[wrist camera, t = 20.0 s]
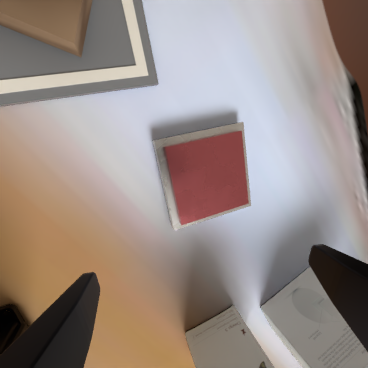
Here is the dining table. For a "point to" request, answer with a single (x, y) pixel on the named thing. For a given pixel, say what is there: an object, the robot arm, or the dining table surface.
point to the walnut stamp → (49, 21)
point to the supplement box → (226, 343)
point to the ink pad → (203, 173)
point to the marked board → (80, 58)
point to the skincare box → (313, 326)
